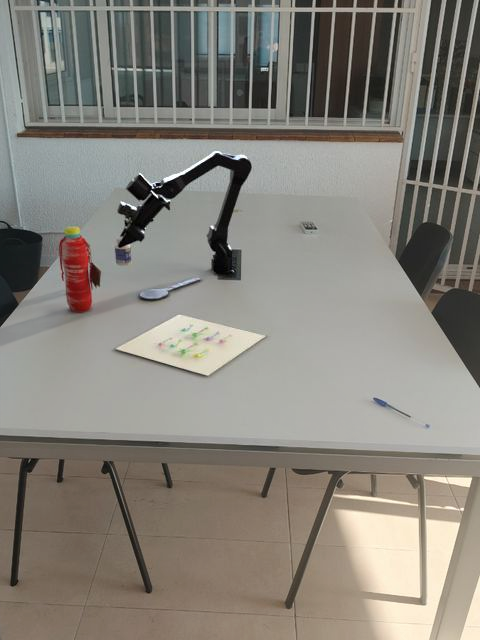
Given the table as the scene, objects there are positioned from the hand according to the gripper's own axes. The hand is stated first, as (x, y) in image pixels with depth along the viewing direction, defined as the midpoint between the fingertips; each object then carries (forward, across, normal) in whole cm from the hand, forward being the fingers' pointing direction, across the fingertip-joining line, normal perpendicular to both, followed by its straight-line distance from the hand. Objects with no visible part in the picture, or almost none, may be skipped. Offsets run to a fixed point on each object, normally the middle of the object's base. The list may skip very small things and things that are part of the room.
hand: (118, 244), depth 238 cm
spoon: (-4, +16, +19) cm, 26 cm away
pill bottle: (+4, 0, +6) cm, 7 cm away
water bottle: (+16, +31, -1) cm, 35 cm away
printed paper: (-5, +61, +21) cm, 65 cm away
